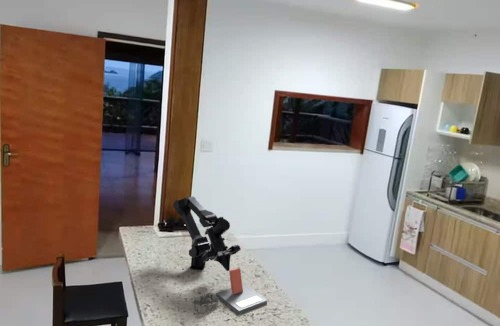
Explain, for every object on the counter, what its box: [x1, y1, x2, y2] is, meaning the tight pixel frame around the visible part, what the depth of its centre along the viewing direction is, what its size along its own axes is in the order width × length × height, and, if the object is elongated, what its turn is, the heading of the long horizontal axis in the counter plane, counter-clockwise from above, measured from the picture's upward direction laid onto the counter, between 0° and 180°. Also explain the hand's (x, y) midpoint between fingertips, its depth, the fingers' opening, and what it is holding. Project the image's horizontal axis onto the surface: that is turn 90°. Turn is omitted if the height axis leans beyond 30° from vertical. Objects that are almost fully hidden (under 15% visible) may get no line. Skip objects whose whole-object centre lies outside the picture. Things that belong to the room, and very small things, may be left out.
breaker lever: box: [228, 267, 243, 295], centre depth 176 cm, size 2×6×10 cm, turn 131°
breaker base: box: [215, 283, 268, 315], centre depth 174 cm, size 16×16×2 cm
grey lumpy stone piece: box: [191, 291, 221, 314], centre depth 166 cm, size 11×8×4 cm
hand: (228, 270), depth 180 cm, fingers closed
